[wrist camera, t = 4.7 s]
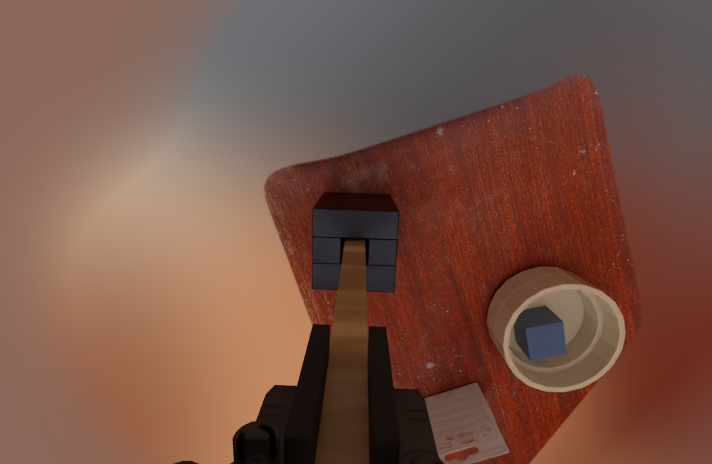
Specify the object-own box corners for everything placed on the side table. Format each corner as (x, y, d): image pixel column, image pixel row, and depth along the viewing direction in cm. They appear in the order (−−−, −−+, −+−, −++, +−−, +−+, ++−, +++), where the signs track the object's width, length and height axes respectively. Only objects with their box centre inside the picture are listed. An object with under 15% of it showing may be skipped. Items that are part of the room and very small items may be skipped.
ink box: (483, 396, 48) (520, 474, 37) (413, 417, 49) (428, 500, 38) (476, 377, 47) (512, 451, 36) (406, 399, 48) (419, 477, 37)
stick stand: (323, 192, 42) (312, 208, 32) (390, 194, 42) (399, 211, 32) (323, 255, 44) (312, 289, 34) (387, 258, 44) (394, 292, 34)
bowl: (492, 262, 44) (512, 282, 38) (600, 266, 44) (636, 286, 38) (479, 358, 47) (496, 389, 41) (580, 362, 47) (612, 394, 41)
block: (511, 312, 44) (525, 328, 41) (545, 305, 44) (563, 321, 40) (515, 342, 45) (530, 361, 41) (549, 335, 45) (567, 354, 41)
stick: (347, 224, 38) (300, 551, 9) (365, 225, 38) (372, 554, 9) (346, 241, 39) (301, 599, 10) (364, 241, 39) (369, 602, 10)
